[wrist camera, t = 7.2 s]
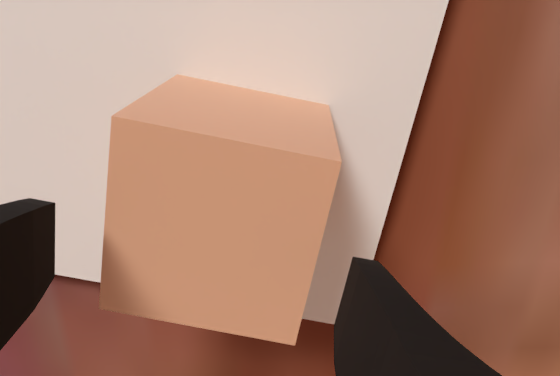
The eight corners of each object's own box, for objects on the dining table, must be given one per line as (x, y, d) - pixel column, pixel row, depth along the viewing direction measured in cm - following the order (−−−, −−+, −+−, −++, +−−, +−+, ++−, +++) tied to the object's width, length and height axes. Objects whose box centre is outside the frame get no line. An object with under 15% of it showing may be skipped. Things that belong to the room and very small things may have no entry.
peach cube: (161, 212, 20) (98, 308, 14) (176, 74, 18) (111, 115, 12) (297, 238, 20) (294, 345, 14) (328, 105, 18) (341, 162, 12)
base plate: (-40, 241, 22) (-59, 254, 21) (-74, -219, 16) (-103, -236, 15) (351, 311, 22) (353, 327, 21) (470, -109, 16) (482, -117, 15)
